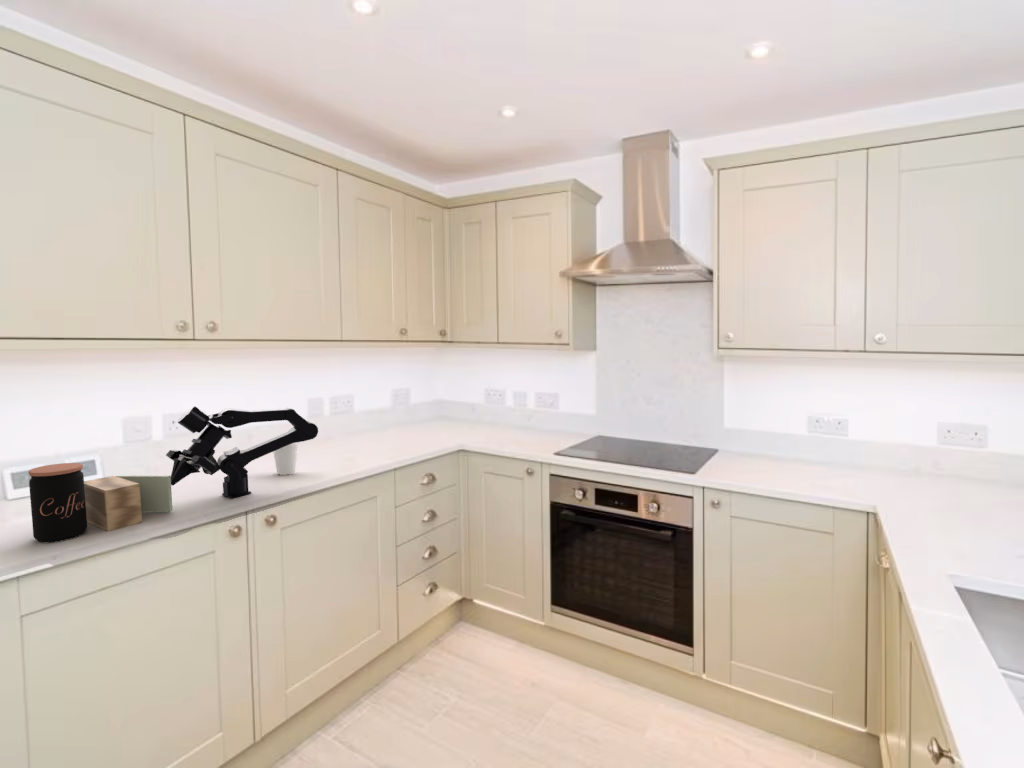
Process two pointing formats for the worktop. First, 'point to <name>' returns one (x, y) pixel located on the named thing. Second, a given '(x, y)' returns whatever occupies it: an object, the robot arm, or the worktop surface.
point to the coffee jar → (57, 502)
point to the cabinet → (112, 502)
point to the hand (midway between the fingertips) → (170, 484)
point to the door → (153, 492)
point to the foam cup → (286, 459)
